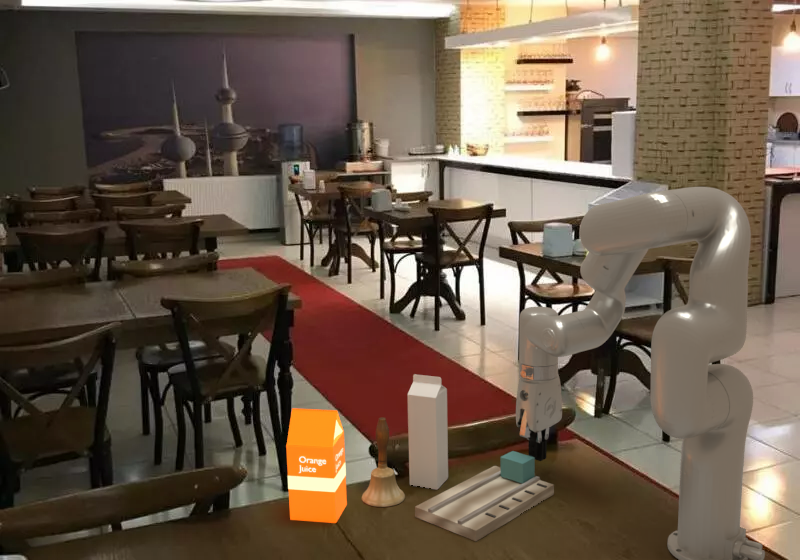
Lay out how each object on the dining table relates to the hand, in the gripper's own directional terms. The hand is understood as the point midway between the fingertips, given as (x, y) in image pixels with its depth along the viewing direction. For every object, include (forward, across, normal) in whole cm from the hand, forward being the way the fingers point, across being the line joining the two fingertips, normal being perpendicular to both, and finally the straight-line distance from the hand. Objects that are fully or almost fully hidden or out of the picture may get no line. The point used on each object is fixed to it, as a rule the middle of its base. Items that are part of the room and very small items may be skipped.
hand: (537, 458), depth 170 cm
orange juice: (+4, -39, +22) cm, 45 cm away
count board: (+4, -17, 0) cm, 17 cm away
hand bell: (+4, -27, +17) cm, 32 cm away
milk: (+4, -16, +15) cm, 22 cm away
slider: (+1, -7, 0) cm, 7 cm away
